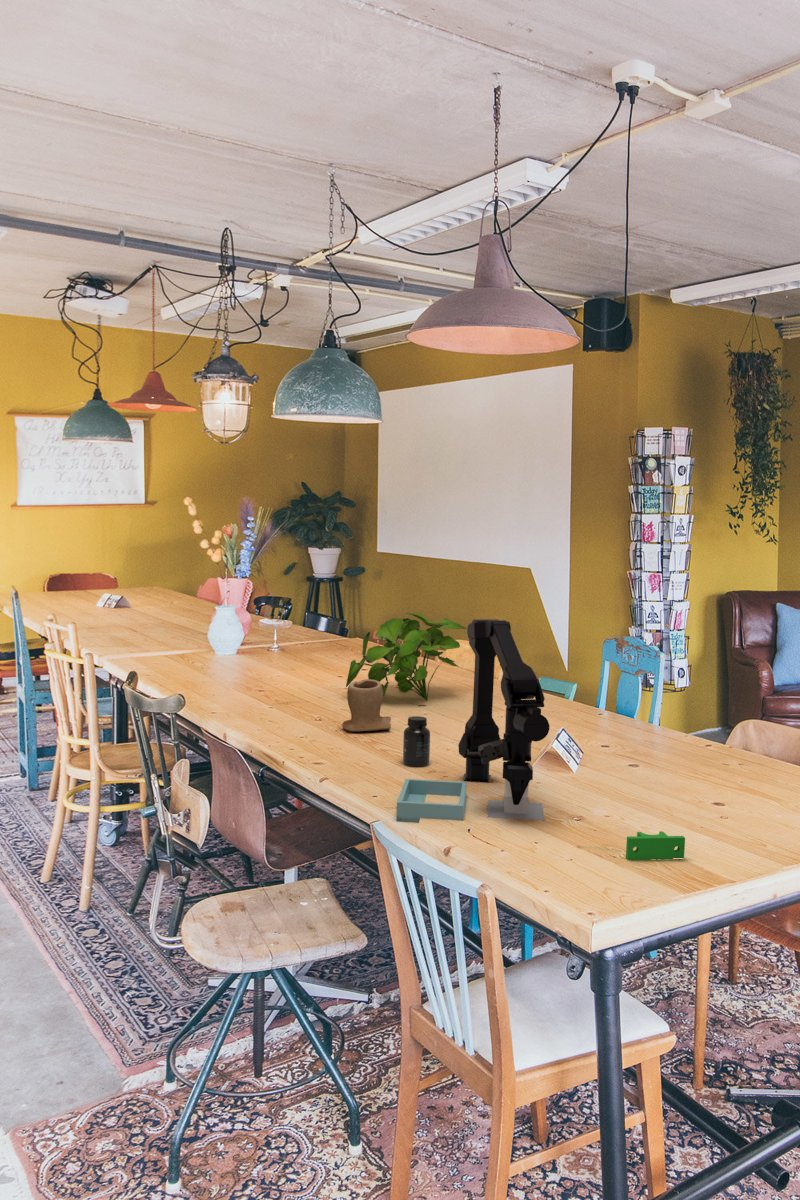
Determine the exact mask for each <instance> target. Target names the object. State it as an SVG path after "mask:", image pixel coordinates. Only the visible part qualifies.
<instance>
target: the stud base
mask: <svg viewBox="0 0 800 1200" xmlns="http://www.w3.org/2000/svg"><path fill="white" fill-rule="evenodd" d="M487 800H488V799H487ZM486 818H494V819H495V818H496V819H512V820H515V819H516V820H527V821H528V820H529V821H545V815H544V806H543V803H541V802H529V801H528V811H527V814H515V813H504V800H492V799H491V800H488V801H487V813H486Z"/></svg>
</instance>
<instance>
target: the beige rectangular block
mask: <svg viewBox="0 0 800 1200" xmlns="http://www.w3.org/2000/svg"><path fill="white" fill-rule="evenodd" d="M529 784H530V783H529ZM529 784H528V786H527V788H526V790H525V792H524V794H523V796H522V798H521V801H520V803H519V805H514V804H513V799H512V793H511V787H510V782H509V781H508V780H507V779H504V793H503V795H504V796H503V801H504V813H515V814H527V811H528V802H529Z"/></svg>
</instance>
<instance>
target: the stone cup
mask: <svg viewBox="0 0 800 1200" xmlns="http://www.w3.org/2000/svg"><path fill="white" fill-rule="evenodd" d="M383 698H384V696H383V689H382V683H381V681H380V682H379V681H376V680H371V679H367V678H366V679H361V680H360V681H357V680H356V681H353V682H351V683H350V684H349V685H348V686H347V695H346V700H347V705H348V708H349V711H350V719H348V720H345V721H343V722H342V723H341V727H342V728H343V729H345V730H347V731H349V732H372V731H373V732H374V731H375V732H376V731H384V730H385V731H386V730H387V731H388V730H391V728H392V725H391V720H392V719H391V718H392V717H391V716H382V715H381V708H382V703H383Z"/></svg>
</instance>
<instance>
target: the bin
mask: <svg viewBox="0 0 800 1200" xmlns="http://www.w3.org/2000/svg"><path fill="white" fill-rule="evenodd" d="M467 786H468V782H464V781H453V780H450V781H449V780H436V779H435V780H433V779H418V778H405V779H404V782H403V785H402V787H401V791H400V793H399V796H398V799H397V801H396V819H395V820H396V822H409V823H410V822H411V823H420V820H421V819H434V820H435V819H436V820H450V821H451V820H452V821H464V817H465V809H466V803H467V801H466V800H467ZM427 795H435V796H451V797H453V796H454V797H459V800H458V801H459V803H444V802H443V803H442V802H441V803H439V802H426V798H427Z"/></svg>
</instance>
